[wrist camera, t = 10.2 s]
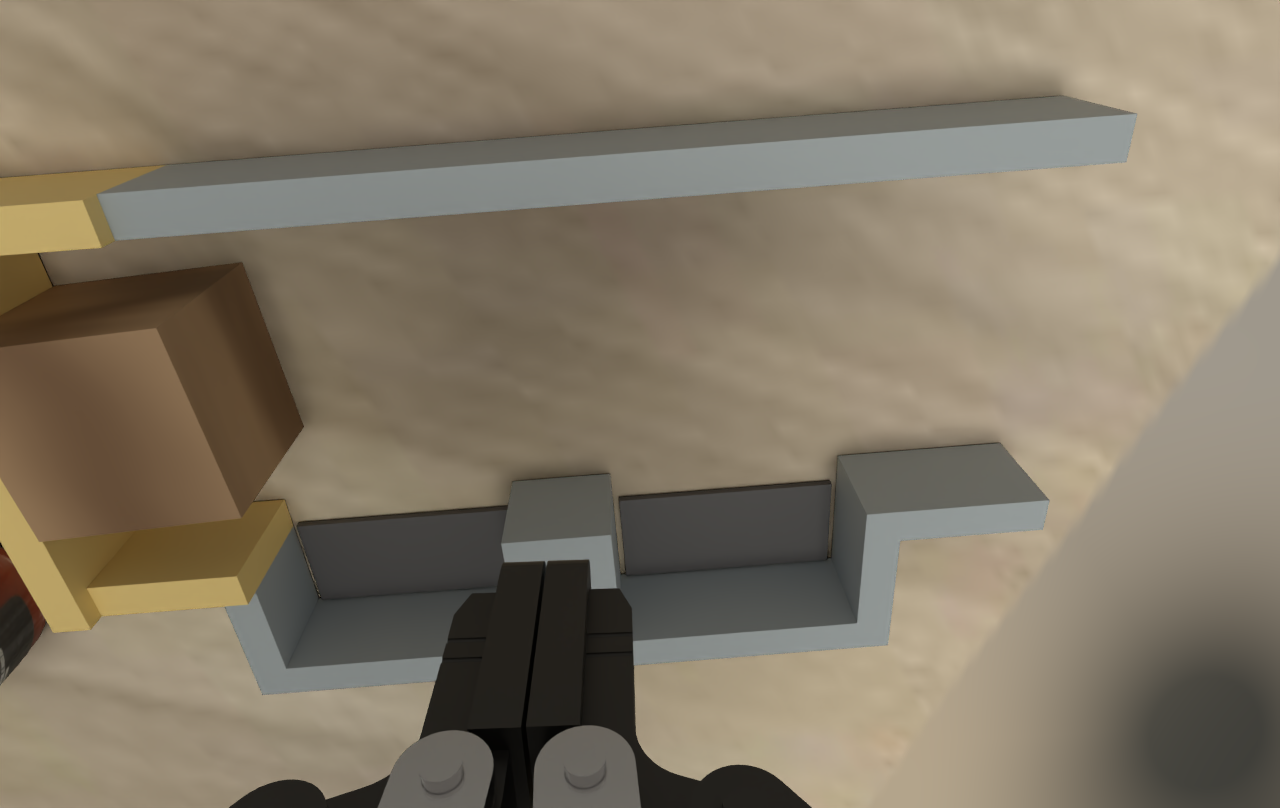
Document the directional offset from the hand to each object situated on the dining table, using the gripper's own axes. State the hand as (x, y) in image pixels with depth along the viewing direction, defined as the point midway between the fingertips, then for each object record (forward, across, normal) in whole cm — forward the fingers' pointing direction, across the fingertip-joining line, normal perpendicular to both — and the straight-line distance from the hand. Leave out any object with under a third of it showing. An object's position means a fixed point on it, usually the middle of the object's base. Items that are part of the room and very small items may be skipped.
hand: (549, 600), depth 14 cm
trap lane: (+10, -1, +1) cm, 10 cm away
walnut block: (+10, +11, -1) cm, 14 cm away
